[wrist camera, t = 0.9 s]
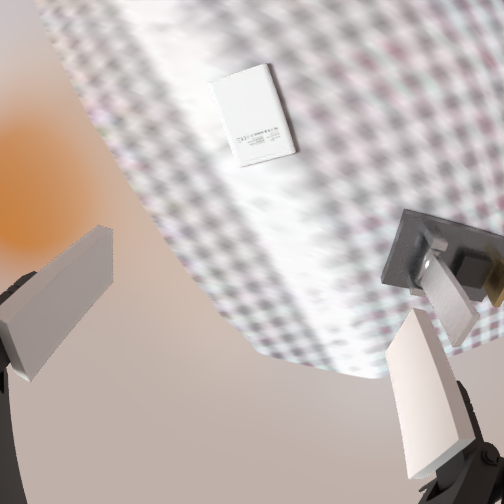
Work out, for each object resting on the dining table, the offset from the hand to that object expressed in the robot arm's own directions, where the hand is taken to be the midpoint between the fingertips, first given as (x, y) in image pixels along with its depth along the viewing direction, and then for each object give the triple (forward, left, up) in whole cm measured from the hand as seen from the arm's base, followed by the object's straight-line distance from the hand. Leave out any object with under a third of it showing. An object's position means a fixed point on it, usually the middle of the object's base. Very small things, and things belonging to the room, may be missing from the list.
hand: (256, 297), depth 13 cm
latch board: (-9, +27, -32) cm, 42 cm away
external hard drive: (+4, -7, -32) cm, 33 cm away
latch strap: (-5, +23, -29) cm, 37 cm away
